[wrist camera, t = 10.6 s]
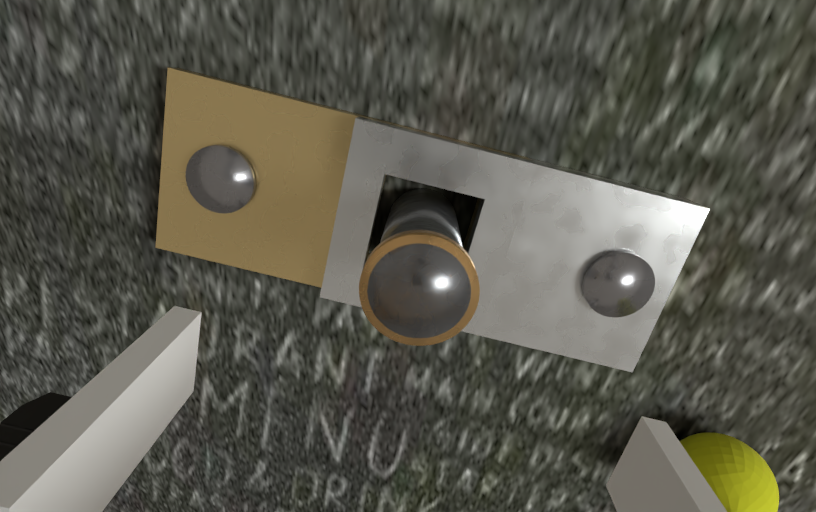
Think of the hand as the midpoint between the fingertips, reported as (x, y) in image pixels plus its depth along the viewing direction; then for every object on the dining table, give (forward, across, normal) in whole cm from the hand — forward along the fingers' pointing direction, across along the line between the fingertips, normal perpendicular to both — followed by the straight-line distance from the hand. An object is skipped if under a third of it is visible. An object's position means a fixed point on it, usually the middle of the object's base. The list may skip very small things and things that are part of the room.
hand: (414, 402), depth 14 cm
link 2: (+21, +6, -1) cm, 21 cm away
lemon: (+21, +26, -14) cm, 36 cm away
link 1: (+21, -6, -1) cm, 21 cm away
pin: (+21, 0, -1) cm, 21 cm away
